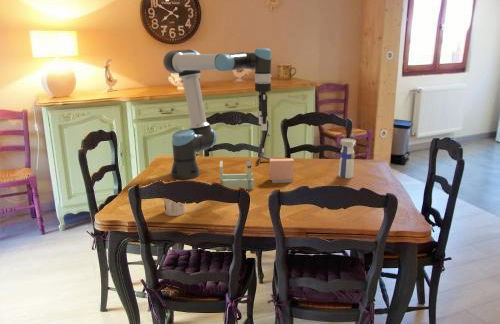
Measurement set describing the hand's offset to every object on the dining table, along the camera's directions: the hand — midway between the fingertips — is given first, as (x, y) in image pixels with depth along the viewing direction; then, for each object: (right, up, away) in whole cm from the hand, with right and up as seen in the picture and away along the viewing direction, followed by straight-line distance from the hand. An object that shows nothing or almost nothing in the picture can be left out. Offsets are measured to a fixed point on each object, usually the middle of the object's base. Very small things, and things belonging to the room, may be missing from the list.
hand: (262, 127), depth 199 cm
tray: (+10, -26, +13) cm, 31 cm away
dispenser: (-13, -29, +4) cm, 32 cm away
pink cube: (+10, -25, +13) cm, 30 cm away
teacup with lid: (-38, -39, -26) cm, 60 cm away
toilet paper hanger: (+4, -19, +37) cm, 42 cm away
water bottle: (+45, -24, +19) cm, 54 cm away
